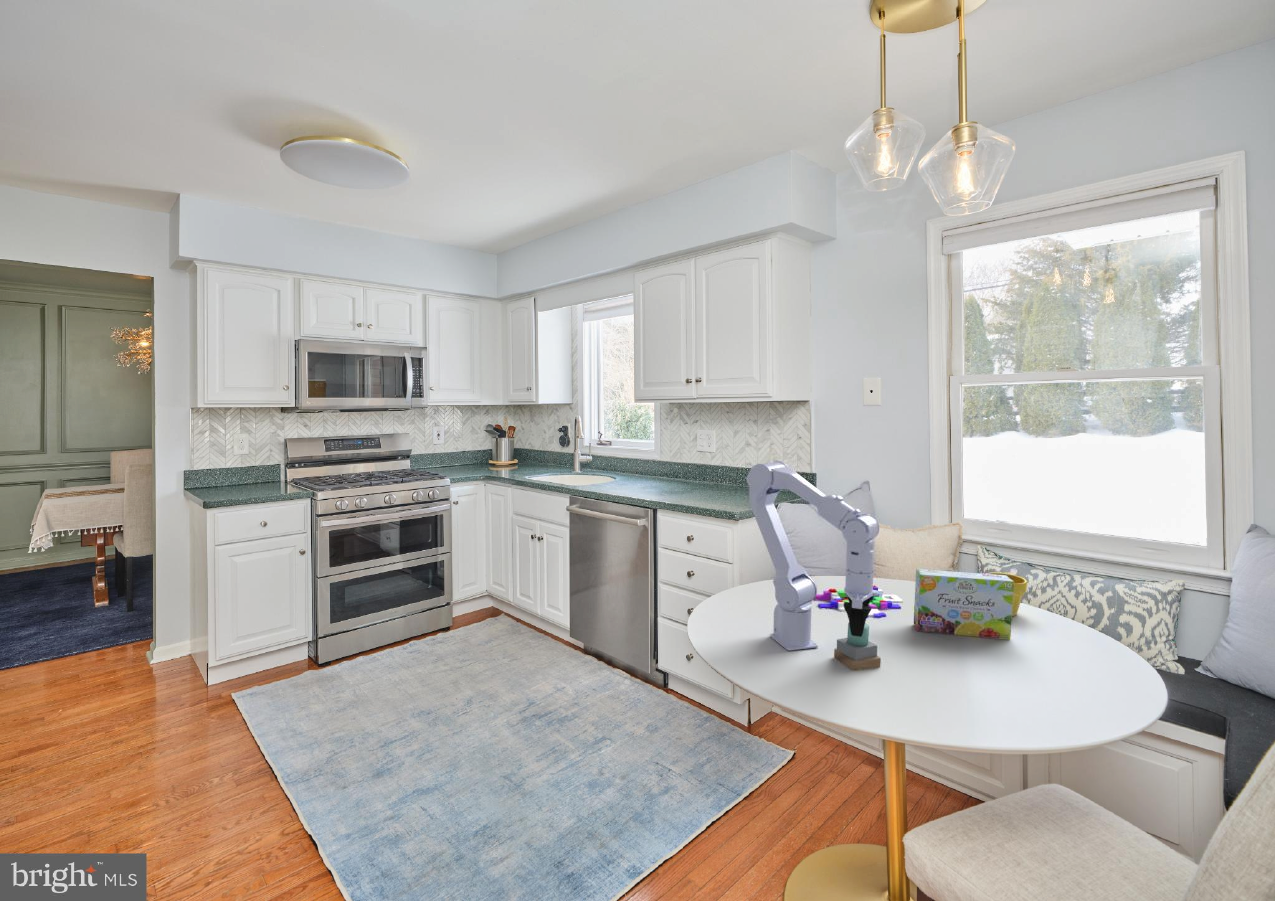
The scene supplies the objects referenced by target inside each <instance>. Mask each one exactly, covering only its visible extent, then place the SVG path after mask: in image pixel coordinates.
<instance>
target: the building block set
mask: <svg viewBox="0 0 1275 901" xmlns="http://www.w3.org/2000/svg"><path fill="white" fill-rule="evenodd" d="M873 590H877V591H878V596H873V598H872V599H871V601H870V603H869V605H868V606H870V607H872V608H871V611H870V613H869V614H868V616H867V619H869V617H870V618H871V617H873V618H875V619H881V618H886V617H887V614H886V613H885V612H881V611H880V610H888V609H891V610H892V609H893V610H895V609H896V610H897V609H898V610H901V609H902V606H901V605H900V604H901V603H904V601H903V599H902V598H900V597H899V596H898V595H896V594H884V591H883V590H882V589H880V588H879V587H878V586H876V585H875V584H873ZM889 598H890V599H889ZM813 600H814V601H829V603H828V602H827V603H825V602H822V603H821V602H820V603H819V602H818V604H817V605H818V607H819V609H821V608H826V609H827V608H830V609H831V610H832V609H837V610H838V611H840V612H846V611H845V609H844V602H849V599H848V597H847V595H846V593H845V592H844V590H837V589H836V588H828V590H823V593H822V594H820V593H819V594H818V593H817V595H816V597H815V598H814V599H813ZM897 603H898V604H897ZM899 603H900V604H899ZM879 609H880V610H879Z"/></svg>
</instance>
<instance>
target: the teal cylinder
mask: <svg viewBox="0 0 1275 901" xmlns="http://www.w3.org/2000/svg"><path fill="white" fill-rule="evenodd" d="M869 634H870V625H869V624H868V623H866V622H865V626H864V631H863V634H862V637H859V636H852V634H851V630H850V624H849V622H848V624H847V635H846V636H847V637H846V638H847V642H848V643H849V644H851V645H854V646H858V647H864V646H867V645H868V641H869V636H870V635H869Z"/></svg>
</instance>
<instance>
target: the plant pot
mask: <svg viewBox="0 0 1275 901" xmlns="http://www.w3.org/2000/svg"><path fill="white" fill-rule="evenodd" d="M985 574H994V575H1006V576H1008V577H1009V578H1010V579H1011V580H1013V581H1014V595H1013V609H1012V617H1015V616H1016V615H1018V611H1019V609H1020V605H1021V602H1022V599H1023V596H1024V595H1025V594H1026V593H1027V589H1028V588H1027V587H1028V581H1027V579H1026V578H1024V577H1022V576H1019V575H1016V574H1011V573H1006V572H986V573H985Z"/></svg>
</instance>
